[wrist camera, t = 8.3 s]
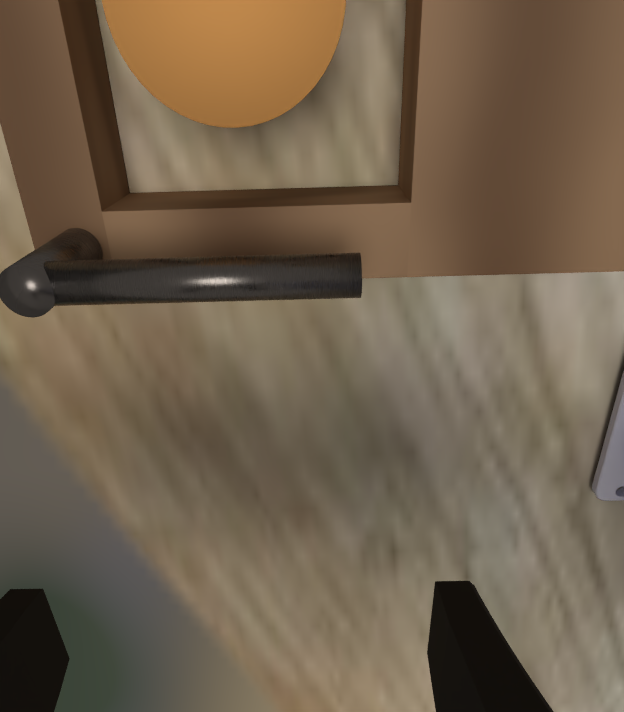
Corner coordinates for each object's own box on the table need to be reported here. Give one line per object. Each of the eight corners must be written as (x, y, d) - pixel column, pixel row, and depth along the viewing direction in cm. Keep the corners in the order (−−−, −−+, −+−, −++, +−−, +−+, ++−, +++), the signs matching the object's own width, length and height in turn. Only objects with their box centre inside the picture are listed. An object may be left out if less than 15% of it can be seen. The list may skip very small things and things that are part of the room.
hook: (347, 200, 16) (361, 256, 11) (347, 239, 17) (361, 308, 12) (85, 207, 16) (-11, 265, 12) (94, 246, 17) (5, 317, 12)
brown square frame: (708, -318, 11) (799, -407, 9) (588, 245, 17) (627, 271, 15) (-51, -286, 12) (-133, -365, 9) (78, 259, 17) (45, 286, 15)
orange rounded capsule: (347, -79, 13) (360, -155, 9) (329, 118, 15) (333, 137, 11) (165, -97, 13) (85, -183, 9) (172, 103, 15) (110, 117, 11)
